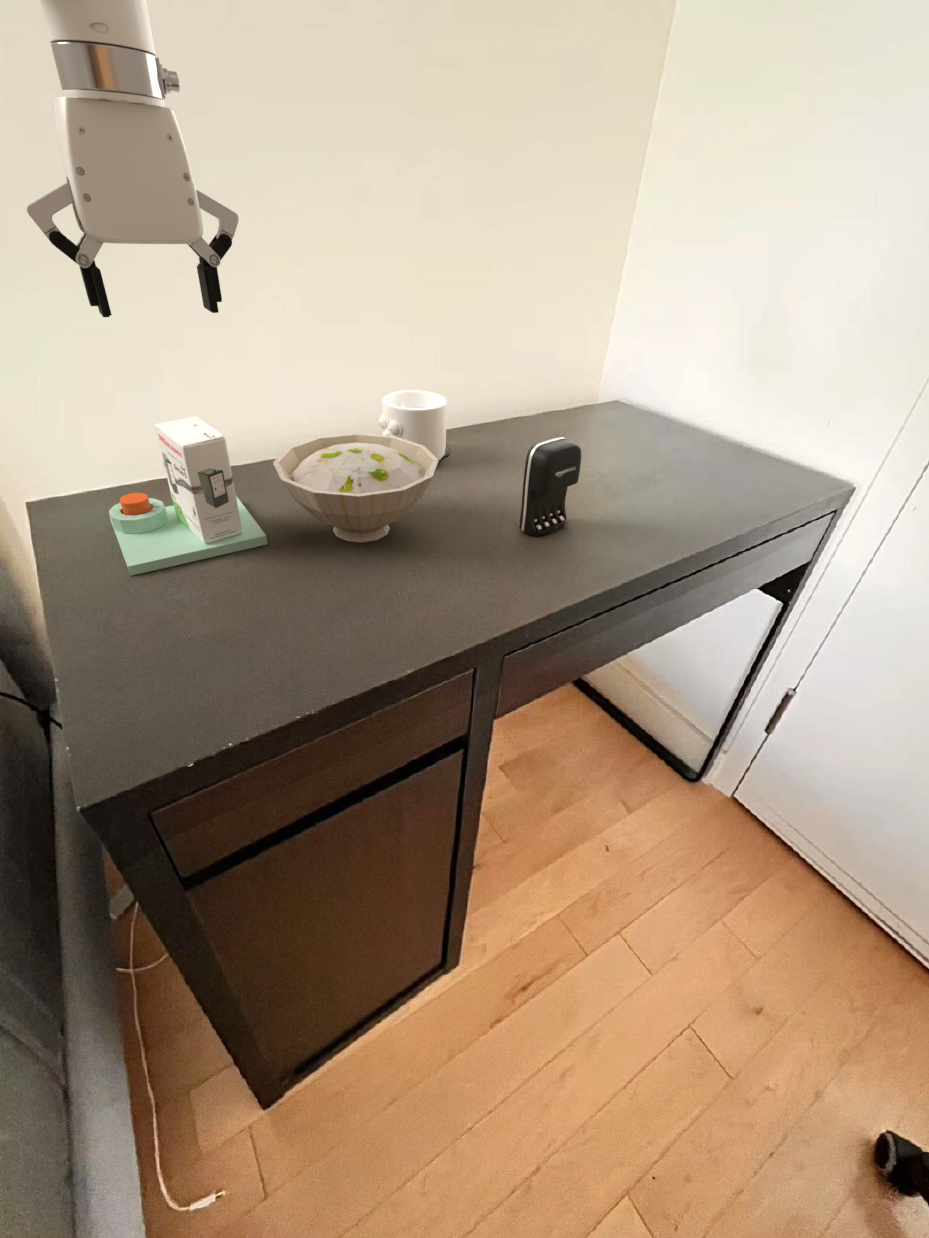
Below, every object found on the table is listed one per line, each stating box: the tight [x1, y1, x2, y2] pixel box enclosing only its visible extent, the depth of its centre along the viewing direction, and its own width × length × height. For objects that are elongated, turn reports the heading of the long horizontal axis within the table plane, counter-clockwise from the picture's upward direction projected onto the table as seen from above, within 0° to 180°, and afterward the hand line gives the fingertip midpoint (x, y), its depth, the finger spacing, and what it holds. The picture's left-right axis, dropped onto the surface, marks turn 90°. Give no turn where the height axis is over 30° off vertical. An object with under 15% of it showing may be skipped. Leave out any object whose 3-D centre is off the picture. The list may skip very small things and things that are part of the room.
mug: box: [378, 389, 448, 461], centre depth 95 cm, size 12×10×9 cm
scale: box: [108, 495, 268, 577], centre depth 73 cm, size 15×13×3 cm
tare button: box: [119, 492, 151, 516], centre depth 72 cm, size 3×3×2 cm
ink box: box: [154, 416, 243, 544], centre depth 70 cm, size 9×5×12 cm, turn 42°
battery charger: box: [518, 436, 582, 537], centre depth 76 cm, size 7×4×11 cm, turn 130°
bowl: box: [272, 432, 440, 543], centre depth 75 cm, size 19×19×10 cm
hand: (160, 312), depth 60 cm, fingers open, 9 cm apart
